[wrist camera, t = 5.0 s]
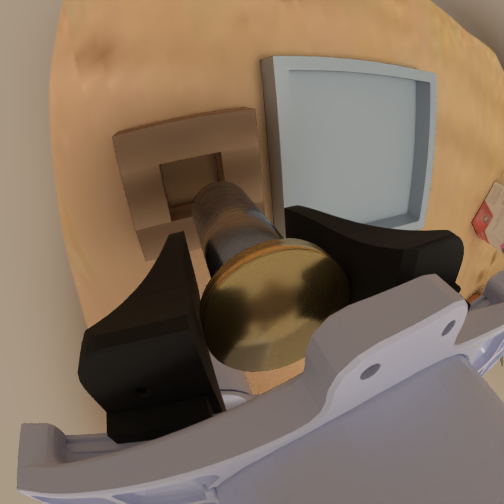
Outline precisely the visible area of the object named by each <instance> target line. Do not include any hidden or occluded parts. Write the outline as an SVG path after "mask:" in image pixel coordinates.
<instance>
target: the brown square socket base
mask: <svg viewBox="0 0 504 504" xmlns="http://www.w3.org/2000/svg"><path fill="white" fill-rule="evenodd" d="M112 138H113V143H114V148H115V152H116V157H117V161H118V165H119V170H120V174H121V178H122V182H123V186H124V190H125V193H126V197H127V201H128V204H129V208H130V212H131V215H132V219H133V222H134V225H135V229H136V232H137V235H138V239H139V242H140V245H141V248H142V251H143V254H144V257H145V260H146V261H149V260H153V259H157V258H158V256H159V254H160V252H161V250H162V248H163V246H164V244H165V242H166V239H167V237H168V236H169V234H173V233H177V232H181V231H184V233H185V238H186V242H187V246H188V250H189V251H190V250H194V249H198V248H202V247H201V244H200V241H199V238H198V234H197V231H196V227H195V224H194V221H193V217H192V204H193V203H190V204H185V205H181V206H177V207H173V208H170V207H169V203H168V198H167V194H166V189H165V184H164V180H163V175H162V170H161V165H160V164H164V163H169V162H173V161H178V160H182V159H187V158H192V157H197V156H202V155H207V154H212V153H215V154H216V161H217V168H218V175H219V181H227V182H232V183H234V184H236V185H238V186H239V187H240V188H242V189H243V191H244V192H245V193H246V194H247V195H248V196H249V197H250V199H251V200H252V201H253V202H254V203H255V204H256V206H257V207H258V208H259V209H260V210H261V212H262V213H263V214H264V215H265V212H264V200H263V188H262V177H261V165H260V154H259V143H258V133H257V122H256V112H255V109H253V108H247V107H242V108H234V109H226V110H220V111H213V112H207V113H201V114H195V115H190V116H184V117H179V118H174V119H169V120H165V121H160V122H156V123H151V124H147V125H143V126H139V127H135V128H131V129H127V130H124V131H120V132H117V133H116V134H115V135H114V136H113V137H112Z"/></svg>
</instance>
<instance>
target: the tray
mask: <svg viewBox="0 0 504 504" xmlns="http://www.w3.org/2000/svg"><path fill="white" fill-rule="evenodd" d="M260 62H261V72H262V82H263V93H264V104H265V115H266V126H267V138H268V150H269V162H270V175H271V189H272V203H273V217H274V227H275V228H276V229H277V230H278V232H279V233H280V234H281V235H282V236H283V238H286V236H285V217H284V208H286V207H291V206H295V205H300V206H305V207H308V208H312V209H315V210H318V211H321V212H324V213H327V214H330V215H334V216H337V217H340V218H343V219H347V220H351V221H354V222H358V223H362V224H367V225H372V226H377V227H384V228H391V229H400V230H418V229H421V228H424V223H425V217H426V212H427V206H428V199H429V193H430V186H431V178H432V170H433V160H434V149H435V136H436V114H437V75H436V74H435V73H431V72H426V71H422V70H418V69H413V68H408V67H403V66H397V65H391V64H385V63H379V62H372V61H364V60H355V59H345V58H332V57H313V56H272V57H268V58H265V59H262V60H260Z"/></svg>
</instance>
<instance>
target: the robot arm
mask: <svg viewBox="0 0 504 504" xmlns="http://www.w3.org/2000/svg"><path fill="white" fill-rule="evenodd" d="M284 217H285V236H286V238H292V239H300V240H305V241H308V242H311V243H314V244H315V245H317V246H319V247H321V248H322V249H323V250H324V251H325V252H326V253H327V254H328V255H329V256H330V257H331V258H332V259H333V260H334V261H335V262H336V263H337V264H338V265H339V266H340V267H341V268H342V270H343V271H344V272H345V274H346V276H347V278H348V281H349V285H350V301H349V305H348V306H346V307H344V308H343V309H341V310H339V311H337V312H336V313H334V314H332V315H330V316H329V317H328V318H327V319H326V320H325V321H324V322H323V323H322V324H321V325H320V326H319V327H318V328H317V329H316V330H315V331H314V333H313V335H312V337H311V340H310V342H309V345H308V347H307V350H306V354H305V368H304V371H303V372H302V373H300V374H298V375H297V376H295V377H293V378H291V379H289V380H288V381H286V382H284V383H282V384H280V385H278V386H276V387H274V388H272V389H271V390H269V391H267V392H265V393H263V394H261V395H259V394H257V395H252V392H251V389H250V387H249V384H248V381H247V379H246V376H245V373H244V371H242V370H236V369H233V368H230V367H228V366H226V365H224V364H222V363H221V362H219V361H218V360H217V359H216V358H215V357H214V356H213V355H212V354H211V353H210V351H209V349H208V347H207V345H206V342H205V338H204V334H203V330H202V326H201V321H200V315H199V308H200V295H199V289H198V285H197V281H196V277H195V273H194V269H193V266H192V262H191V258H190V254H189V250H188V246H187V242H186V238H185V233H184V231H181V232H177V233H173V234H169V236H168V237H167V239H166V242H165V244H164V246H163V248H162V250H161V252H160V254H159V256H158V258H157V260H156V262H155V264H154V265H153V267H152V269H151V270H150V272H149V274H148V275H147V276H146V278H145V279H144V280H143V282H142V283H141V284H140V285H139V286H138V288H137V289H136V290H135V291H134V292H133V293H132V294H131V295H130V296H129V297H128V298H127V299H126V300H125V301H124V302H123V303H122V304H121V305H120V306H119V307H117V308H116V309H115V310H114V311H113V312H111V313H110V314H109V315H108V316H106V317H105V318H103V319H102V320H101V321H99V322H98V323H96V324H95V325H93V326H92V327H90V328H89V329H87V330H86V331H85V333H84V337H83V341H82V345H81V352H80V359H79V367H78V376H79V379H80V382H81V384H82V385H83V387H84V388H85V390H86V391H87V392H88V393H89V394H90V395H91V396H92V397H93V398H94V400H95V401H97V403H98V404H99V405H100V406H101V407H102V408H103V409H104V410H105V411H106V412H107V433H98V434H84V435H65V434H64V433H63V432H62V431H61V430H59V429H58V428H57V427H55V426H54V425H51V424H48V423H23V424H22V425H21V432H20V441H19V452H18V468H17V490H18V491H19V492H20V493H22V494H24V495H26V496H28V497H30V498H33V499H35V500H37V501H39V502H42V503H44V504H504V403H503V402H502V401H501V399H500V398H499V397H498V395H497V394H496V393H495V392H494V390H493V389H492V388H491V387H490V386H489V384H488V383H487V382H486V381H485V380H484V378H483V376H484V375H485V373H486V372H488V371H489V369H490V368H491V367H492V366H493V365H494V364H495V363H496V362H497V361H498V360H499V359H500V358H501V357H502V356H503V355H504V271H503V270H501V271H499V272H498V273H497V274H495V275H494V276H492V277H491V278H490V279H489V281H488V282H487V284H486V286H485V289H484V292H483V295H481V296H480V297H478V298H477V299H475V300H474V301H472V302H471V303H469V302H468V301H466V300H465V299H464V298H463V297H462V296H461V295H460V294H459V292H460V290H461V288H460V286H458V285H457V284H456V283H455V281H456V278H457V276H458V273H459V270H460V267H461V263H462V260H463V255H464V246H463V242H462V240H461V239H460V237H458V236H457V235H455V234H454V233H452V232H451V231H449V230H431V231H418V230H400V229H391V228H384V227H377V226H372V225H367V224H362V223H358V222H354V221H351V220H347V219H343V218H340V217H337V216H334V215H330V214H327V213H324V212H321V211H318V210H315V209H312V208H308V207H305V206H300V205H295V206H291V207H286V208H284Z"/></svg>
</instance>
